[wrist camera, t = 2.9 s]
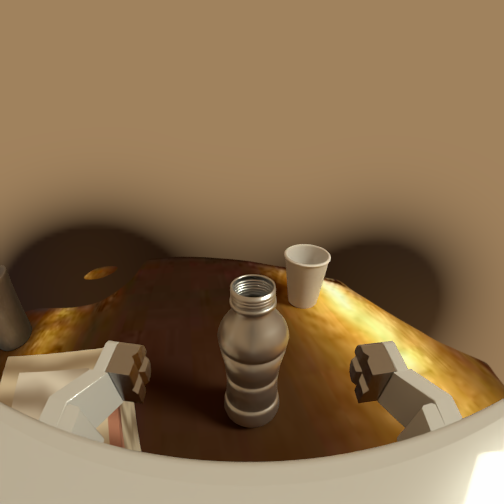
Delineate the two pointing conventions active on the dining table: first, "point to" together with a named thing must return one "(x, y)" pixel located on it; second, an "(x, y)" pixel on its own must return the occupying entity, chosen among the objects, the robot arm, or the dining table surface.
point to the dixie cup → (305, 273)
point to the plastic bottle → (252, 350)
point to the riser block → (53, 379)
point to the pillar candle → (11, 316)
